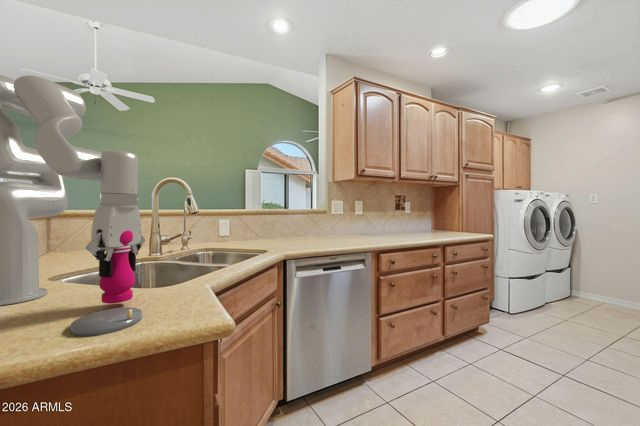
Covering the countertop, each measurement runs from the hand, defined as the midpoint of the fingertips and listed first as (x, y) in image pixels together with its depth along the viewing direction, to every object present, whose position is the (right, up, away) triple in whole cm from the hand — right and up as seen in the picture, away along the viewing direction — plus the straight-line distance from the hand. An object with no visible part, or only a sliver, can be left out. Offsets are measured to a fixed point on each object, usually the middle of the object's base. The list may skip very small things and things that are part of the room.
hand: (118, 272), depth 69 cm
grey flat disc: (+5, -9, -10) cm, 14 cm away
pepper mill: (0, -7, 0) cm, 7 cm away
